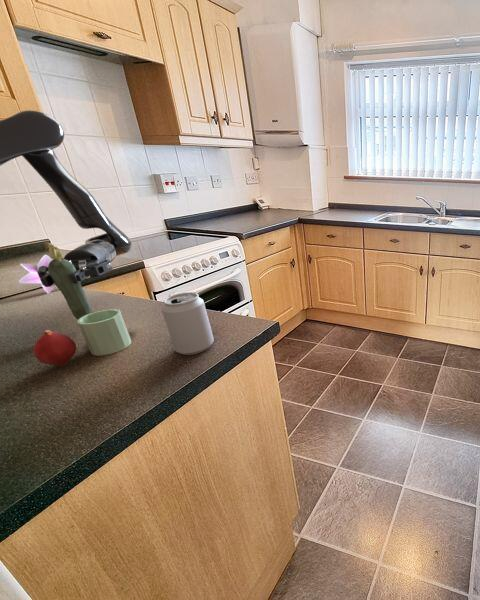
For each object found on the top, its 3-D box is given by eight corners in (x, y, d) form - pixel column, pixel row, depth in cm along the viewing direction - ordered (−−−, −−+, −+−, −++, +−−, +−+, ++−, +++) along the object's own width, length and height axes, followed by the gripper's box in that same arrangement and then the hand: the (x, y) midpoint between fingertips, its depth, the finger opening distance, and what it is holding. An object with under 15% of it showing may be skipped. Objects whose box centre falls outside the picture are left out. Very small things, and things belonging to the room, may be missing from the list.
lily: (18, 302, 99) (19, 276, 95) (15, 278, 104) (16, 252, 100) (74, 301, 108) (78, 277, 104) (69, 279, 114) (72, 256, 110)
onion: (39, 367, 67) (20, 332, 64) (76, 354, 71) (61, 320, 68) (48, 377, 64) (29, 341, 61) (86, 362, 68) (70, 328, 65)
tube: (85, 358, 70) (71, 326, 66) (97, 342, 75) (84, 312, 72) (126, 351, 72) (114, 320, 69) (135, 336, 78) (124, 307, 75)
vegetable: (100, 321, 82) (68, 241, 74) (79, 329, 78) (42, 246, 70) (90, 318, 84) (57, 239, 76) (69, 325, 80) (32, 243, 72)
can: (173, 346, 74) (156, 296, 69) (210, 335, 78) (197, 287, 73) (179, 361, 68) (161, 308, 64) (218, 348, 73) (205, 297, 68)
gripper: (47, 248, 84) (8, 269, 70) (117, 243, 89) (94, 260, 75) (59, 277, 87) (24, 301, 73) (126, 270, 92) (106, 291, 78)
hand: (60, 280), depth 74 cm, fingers closed on vegetable, 4 cm apart
